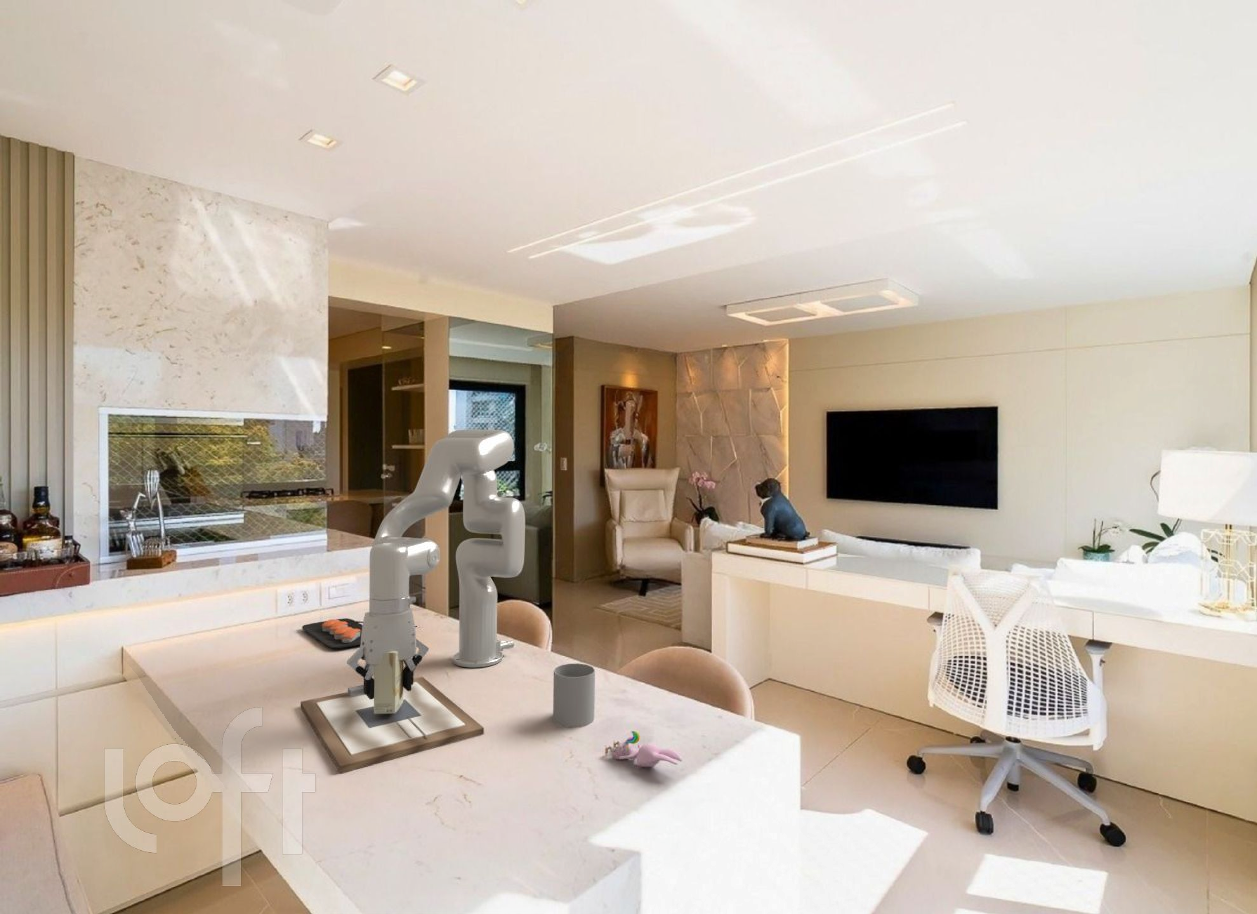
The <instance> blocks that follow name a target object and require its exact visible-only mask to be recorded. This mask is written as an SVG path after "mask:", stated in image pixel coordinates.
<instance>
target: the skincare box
mask: <svg viewBox="0 0 1257 914" xmlns="http://www.w3.org/2000/svg"><path fill="white" fill-rule="evenodd" d="M403 669H404V662H403V660H402V661H399V659H398V651H392V652H386V653H384V654H383V657H382V660H381V663H380V664H378V665H375V667H374V673H373V679H374V714H387V713H396V712H397V710H398V709H399V708H400V706H401V705H402V703H403Z"/></svg>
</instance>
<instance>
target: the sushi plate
mask: <svg viewBox="0 0 1257 914" xmlns="http://www.w3.org/2000/svg"><path fill="white" fill-rule="evenodd" d="M362 626H363V621H360V620H359V621H358V620H354V619H352V618H344V617H343V618H338V619H337V618H336V619H328V620H326V621H318V622H312V623H307V624H304V625H302V627H301V629H302V630H303V631H304V632H305V633H308V635H310V636H311V637H313V638H314V639H316V640H317V641H318V642H320V643H321V644H323V645H325V646H326V647H328V648H329V649H330V648H331V649H345V648H350V647H356V646H360V645H361V634H362ZM417 626H418V625H415V627H417Z"/></svg>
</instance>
